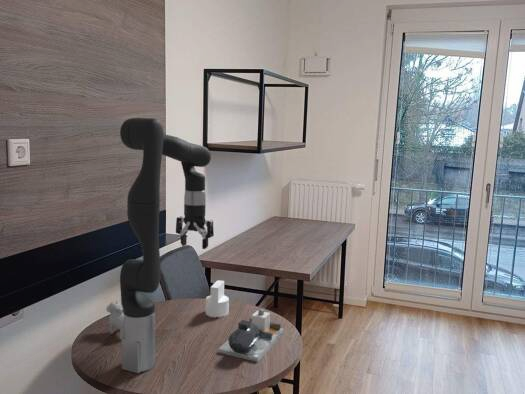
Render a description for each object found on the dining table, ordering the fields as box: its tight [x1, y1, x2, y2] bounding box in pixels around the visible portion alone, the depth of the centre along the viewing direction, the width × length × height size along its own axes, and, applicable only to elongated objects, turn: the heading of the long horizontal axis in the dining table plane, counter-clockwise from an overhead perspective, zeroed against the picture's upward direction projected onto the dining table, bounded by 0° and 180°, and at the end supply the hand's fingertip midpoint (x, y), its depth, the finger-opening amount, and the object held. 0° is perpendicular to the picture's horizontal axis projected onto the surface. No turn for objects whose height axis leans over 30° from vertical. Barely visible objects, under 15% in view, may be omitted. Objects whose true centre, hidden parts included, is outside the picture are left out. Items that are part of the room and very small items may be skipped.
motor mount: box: [218, 317, 285, 363], centre depth 164 cm, size 24×14×10 cm, turn 157°
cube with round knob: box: [251, 308, 271, 331], centre depth 171 cm, size 5×5×8 cm
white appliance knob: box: [205, 279, 230, 318], centre depth 188 cm, size 9×9×12 cm
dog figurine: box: [106, 300, 124, 341], centre depth 168 cm, size 5×13×11 cm, turn 48°
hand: (194, 247), depth 172 cm, fingers open, 8 cm apart
